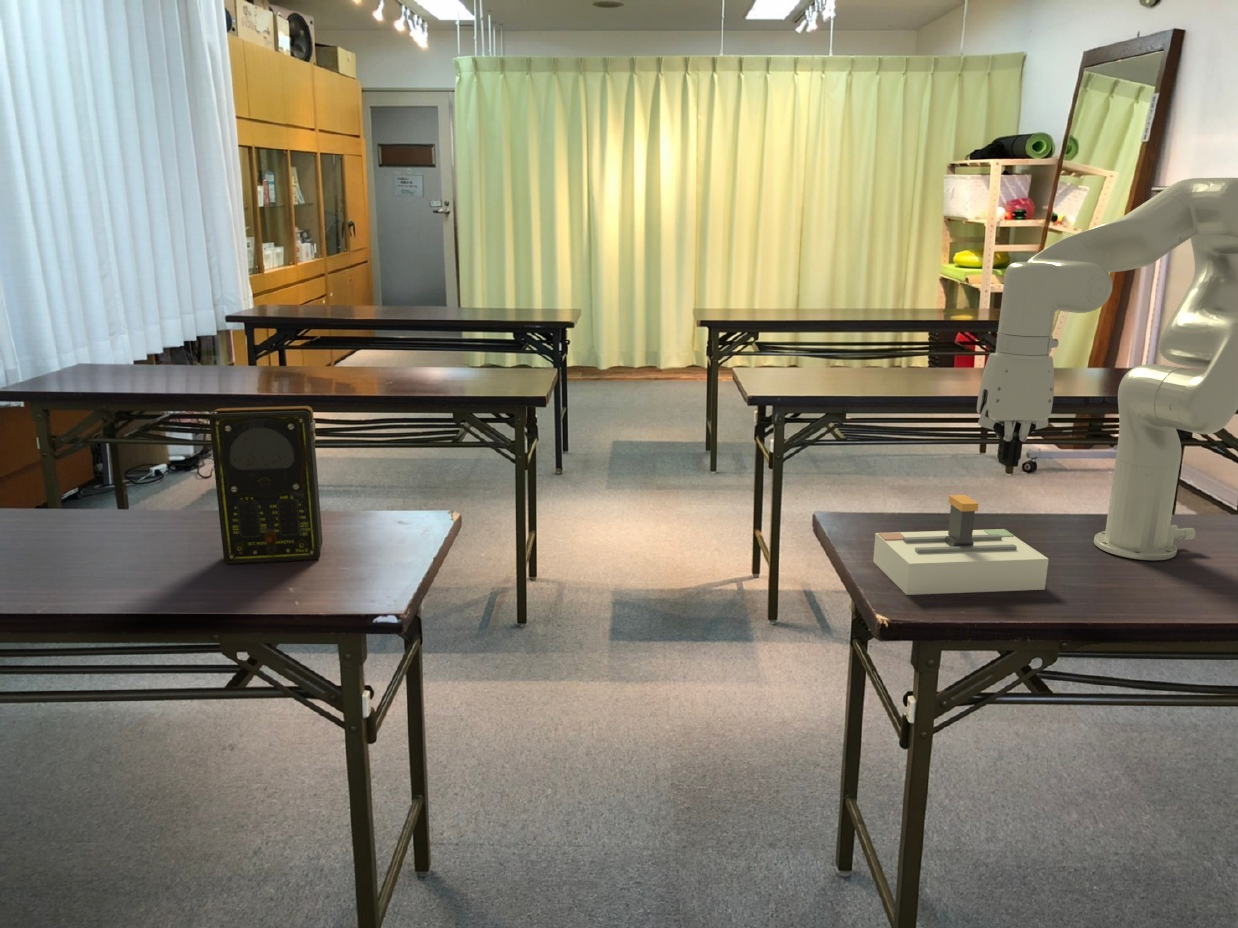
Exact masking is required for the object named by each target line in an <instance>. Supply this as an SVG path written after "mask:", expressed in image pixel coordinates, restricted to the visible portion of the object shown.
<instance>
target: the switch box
mask: <svg viewBox="0 0 1238 928" xmlns="http://www.w3.org/2000/svg"><path fill="white" fill-rule="evenodd" d="M874 536H875V537H874V545H873V547H874V548H873V549H874V550H873V561H872V562H873V563H874V564H875V565H876V567H878V568H879V569H880V570H881V571H882V572H883V573H884V574H885V575H886V576H887V578H889V579H890V581H892V582H893V583H894V584H895V585H896V587H898V588H899V589H900V590H901V591H902V592H903V593H904V594H905V595H906V596H907V595H908V596H909V595H912V596H913V595H932V594H934V595H938V594H962V593H963V594H964V593H986V592H987V593H990V592H992V593H993V592H1014V591H1015V592H1017V591H1018V592H1019V591H1020V592H1021V591H1033V590H1034V591H1037V590H1039V591H1042V590H1045V589H1046V583H1047V582H1046V580H1047V574H1048V567H1049V558H1048V557H1047V556H1045V555H1044V554H1042V553H1041V552H1040V551H1037V549H1034V548H1033V547H1032V546H1030V545H1028V543H1025V542H1024V541H1022V539H1019V537H1017V536H1015V535H1014V534H1013V533H1011V532H1009V530H1007V529H1006V528H1002V529H1001V528H1000V529H999V528H997V529H996V528H995V529H973V533H972V541H973V542H974V543H973V546H950V545H948V544H947V543H946V542H945V539H946V536H949V535H948V530H935V531H934V530H932V531H927V530H926V531H899V532H898V531H897V532H896V531H895V532H875V534H874Z"/></svg>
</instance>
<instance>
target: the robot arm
mask: <svg viewBox="0 0 1238 928" xmlns="http://www.w3.org/2000/svg"><path fill="white" fill-rule="evenodd" d="M1189 239H1190V243H1191V247H1192V254H1193V259H1194V273H1193V278H1192V280H1191V283H1190V285H1189V286H1188V289H1187V290H1186V293H1184V296H1183V297H1182V299H1181V300H1180V303H1179V304H1178V306H1177V307H1176V309H1175V311H1174V312H1173V314H1172V316H1171V317H1170V319H1169V320H1168V323H1167V324H1166V325H1165V328H1164V329H1163V332H1162V333H1161V335H1160V337H1159V343H1158V349H1159V353H1160V355H1161V356H1162V357H1163V358H1164V359H1165V360H1167V361H1168V362H1171V363H1173V364H1176V365H1181V366H1185V367H1190V368H1194V369H1200V370H1201V369H1202V370H1205V371H1198V370H1191V369H1187V368H1184V367H1183V368H1182V367H1177V366H1171V365H1165V364H1157V363H1148V364H1142V365H1138V366H1135V367H1133V368H1132V369H1130V370H1128V371H1127V372H1126V373H1125V374H1124V376H1123V377H1122V379H1121V381H1120V383H1119V386H1118V390H1117V405H1118V407H1117V408H1118V419H1119V423H1118V424H1119V425H1118V427H1119V428H1118V439H1117V448H1116V455H1115V462H1114V469H1113V474H1112V475H1113V476H1112V483H1111V490H1110V497H1109V504H1108V510H1107V511H1108V512H1107V517H1106V518H1107V519H1106V525H1105V530H1103V531H1100V532H1098V533H1095V535H1094V539H1093V543H1094V545H1095V546H1096V547H1097V548H1098V549H1100V550H1101V551H1104V552H1107V553H1108V554H1111V555H1115V556H1119V557H1123V558H1128V559H1133V560H1140V561H1164V560H1166V561H1167V560H1169V559H1172V558H1174V557H1175V556H1176V555H1177V552H1178V547H1177V546H1176V545H1175V544H1174V542H1178V540H1193V539H1194V540H1195V538H1196V535H1197V533H1196V530H1195V528H1193V527H1181V528H1179V526H1178V525H1177V524H1171V521H1172V515H1173V511H1174V510H1173V509H1174V504H1175V497H1176V490H1177V484H1178V478H1179V473H1180V472H1179V471H1180V466H1181V460H1182V443H1181V440H1180V436H1179V434H1178V431H1177V430H1180V431H1185V432H1189V433H1193V434H1199V435H1200V434H1201V435H1212V434H1216V433H1218V432H1219V431H1221V430H1222V429H1224V428H1225V427H1226V426H1227V425H1228V424H1229V423H1230V421H1231V420H1232V419H1233V417H1234V416H1235V414H1236V413H1237V411H1238V177H1205V178H1204V177H1197V178H1196V177H1193V178H1186V179H1183V180H1182V179H1181V180H1180V181H1177V182H1175V183H1173V184H1171V185H1169V186H1168V187H1166V188H1164V189H1163V190H1162V191H1160V192H1159V193H1157V194H1156V195H1154V196H1152V197H1150V198H1149V200H1147V201H1145V202H1143V203H1141V205H1139V206H1137V207H1135V208H1134V209H1133V210H1131V211H1129V212H1128V213H1126V214H1125V215H1123V216H1122V217H1120V218H1117V219H1115V220H1111V221H1109V222H1105V223H1102V224H1100V225H1097V226H1094V227H1092V228H1088V229H1087V230H1083V231H1080V232H1078V233H1075V234H1072V235H1069V236H1066V237H1064V238H1062V239H1059V240H1057V241H1056V242H1054V243H1052V244H1050V245H1049V246H1047V247H1046V248H1044V249H1042V250H1041V251H1040V252H1038V253H1036V254H1035V255H1034V256H1032V257H1031V258H1029V259H1028V261H1016V262H1012V263H1010V264H1009V265H1008V266H1007V267H1006V269H1005V273H1004V279H1003V280H1004V281H1003V289H1002V296H1001V305H1000V314H999V321H998V327H997V328H998V329H997V337H996V338H997V339H996V346H995V352H990V353H989V355H988V358H987V360H986V363H985V367H984V370H983V373H982V377H981V381H980V385H979V391H978V396H977V402H976V412H977V414H979V415H980V416H979V419H978V422H977V424H978V426H980V427H982V428H985V429H989V430H992V431H993V432H994V433H995V435H996V437H997V438H999V439H998V447H997V460H998V463H999V464H1001V465H1002V466H1005V467H1007V468H1010V467H1011V468H1012V467H1013V468H1016V467H1019V464H1020V462H1019V461H1020V460H1021V457H1022V451H1023V445H1024V444H1023V442H1026V441H1027V440H1028V437H1029V435H1031V434H1032V433H1033V432H1034V431H1035V430H1041V429H1044V428H1048V427H1049V418H1050V417H1051V415H1052V409H1053V403H1054V395H1055V394H1054V392H1055V391H1054V390H1055V369H1054V368H1055V367H1054V359H1053V356H1051V355H1050V354H1051V351H1052V349H1053V348H1058V346H1059V339H1057V338H1054V337H1053V331H1054V330H1053V329H1054V324H1055V323H1054V322H1055V315H1056V312H1057V311H1060V312H1064V313H1065V312H1067V313H1075V314H1086V313H1092V312H1093V311H1096V310H1098V309H1099V308H1101V307H1103V306H1104V305H1105V304H1106V303H1107V302H1108V300H1109V299H1110V297H1111V294H1112V292H1113V280H1112V277H1111V275H1110V273H1117V272H1126V271H1131V270H1135V269H1140V268H1143V267H1147V266H1150V265H1152V264H1154V263H1155V262H1158V260H1160V259H1162V258H1163V257H1164V256H1166V255H1167V254H1168V253H1170V252H1172V251H1173V250H1174V249H1176V248H1177V247H1179V246H1180V245H1182V244H1183V243H1185V242H1186V241H1188V240H1189Z"/></svg>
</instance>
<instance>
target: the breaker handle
mask: <svg viewBox="0 0 1238 928" xmlns="http://www.w3.org/2000/svg"><path fill="white" fill-rule="evenodd" d="M948 504H950V509H949V510H950V512H949V521H948V522H949V523H948V530H947V531H948V535H949V536H946V539H945V542H946V543H947V544H948V545H950V546H973V543H974V542H973V541H972V533H973V530H974V522H975V521H974V520H975V512H978V511H979V503H978V502H977V501H975V500H973V498H971V497H969V496H967V495H966V494H949V496H948Z"/></svg>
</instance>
